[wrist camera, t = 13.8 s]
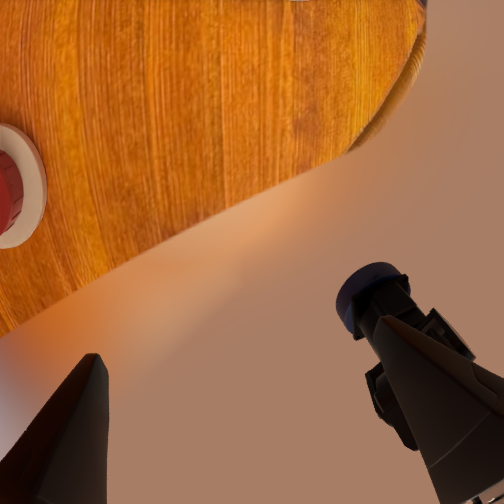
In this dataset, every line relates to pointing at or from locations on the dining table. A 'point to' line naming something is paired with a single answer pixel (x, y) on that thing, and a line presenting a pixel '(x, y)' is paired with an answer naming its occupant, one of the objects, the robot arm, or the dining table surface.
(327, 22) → the dining table surface
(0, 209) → the jar lid
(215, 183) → the dining table surface
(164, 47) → the dining table surface
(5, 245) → the coaster
